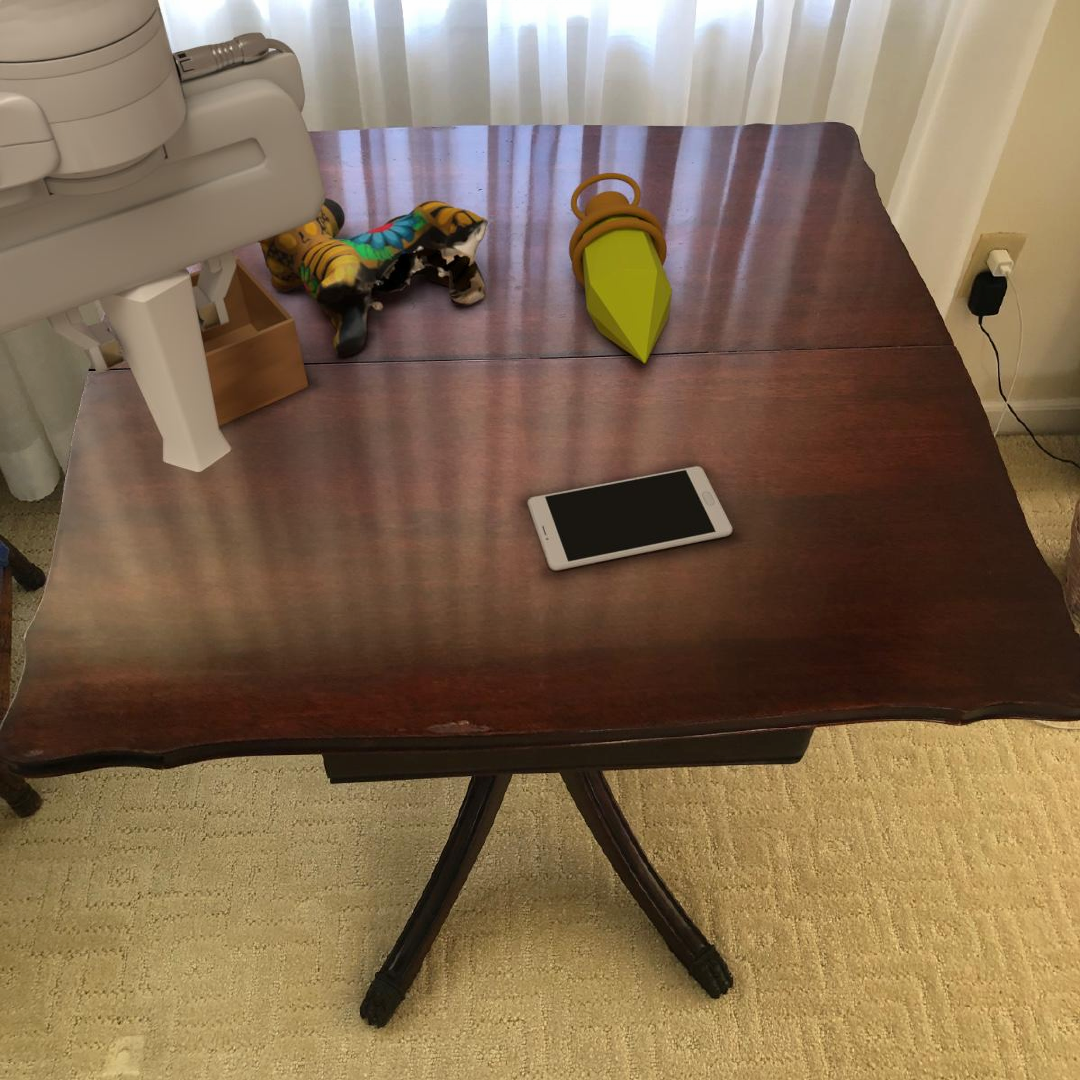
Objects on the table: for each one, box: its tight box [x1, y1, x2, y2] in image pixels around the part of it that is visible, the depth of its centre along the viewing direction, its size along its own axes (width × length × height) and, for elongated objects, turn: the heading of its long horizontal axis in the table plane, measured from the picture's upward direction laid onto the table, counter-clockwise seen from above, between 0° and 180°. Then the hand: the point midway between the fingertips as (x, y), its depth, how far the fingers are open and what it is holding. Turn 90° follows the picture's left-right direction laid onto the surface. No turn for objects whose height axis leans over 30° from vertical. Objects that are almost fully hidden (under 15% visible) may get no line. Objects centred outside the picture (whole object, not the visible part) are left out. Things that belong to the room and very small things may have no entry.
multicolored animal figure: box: [257, 197, 488, 357], centre depth 93 cm, size 20×12×18 cm
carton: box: [190, 256, 309, 428], centre depth 86 cm, size 10×11×7 cm
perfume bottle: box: [98, 268, 232, 473], centre depth 53 cm, size 5×4×15 cm
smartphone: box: [527, 465, 733, 572], centre depth 78 cm, size 8×1×15 cm
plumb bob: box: [568, 172, 673, 364], centre depth 93 cm, size 9×9×25 cm
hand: (159, 341), depth 52 cm, fingers closed on perfume bottle, 4 cm apart
